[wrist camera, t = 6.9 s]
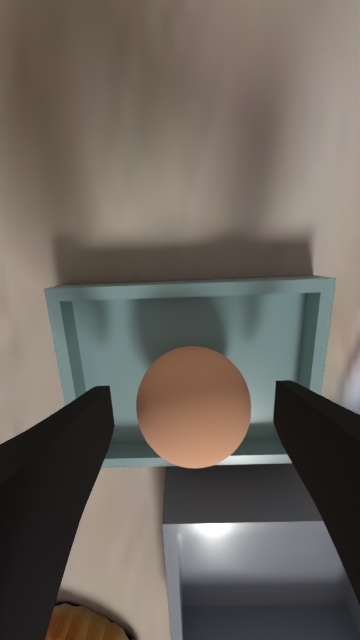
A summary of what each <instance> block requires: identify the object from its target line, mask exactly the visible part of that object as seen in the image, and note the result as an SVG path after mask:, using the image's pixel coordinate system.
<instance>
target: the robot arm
mask: <svg viewBox="0 0 360 640" xmlns="http://www.w3.org/2000/svg"><path fill="white" fill-rule="evenodd" d="M273 423H274V426H275V428H276V431H277V434H278V436H279V438H280V441H281V443H282V445H283V447H284V449H285V451H286V453H287V455H288V456H289V458H290V460H291V462H292V464H293V465H294V467H295V469H296V471H297V473H298V474H299V476H300V478H301V480H302V482H303V483H304V485H305V487H306V489H307V491H308V492H309V494H310V496H311V498H312V499H313V501H314V503H315V505H316V507H317V509H318V511H319V513H320V515H321V517H322V519H323V522H324V524H325V526H326V528H327V531H328V533H329V535H330V537H331V539H332V542H333V544H334V546H335V548H336V551H337V553H338V555H339V558H340V560H341V562H342V565H343V567H344V569H345V572H346V574H347V576H348V579H349V581H350V583H351V586H352V588H353V590H354V593H355V595H356V598H357V600H358V603H359V605H360V415H358V414H356V413H354V412H352V411H350V410H348V409H346V408H344V407H342V406H340V405H338V404H336V403H334V402H332V401H330V400H328V399H326V398H325V397H323V396H321V395H319V394H317V393H315V392H313V391H311V390H310V389H308V388H306V387H304V386H302V385H300V384H298V383H296V382H293V381H291V380H281V381H276V387H275V401H274V414H273ZM114 427H115V424H114V416H113V408H112V400H111V392H110V386H95V387H93V388H91V389H90V390H88V391H87V392H85V393H84V394H82V395H81V396H79V397H78V398H76V399H75V400H73V401H72V402H70V403H69V404H67V405H66V406H65V407H63V408H62V409H60V410H59V411H57V412H56V413H54V414H52V415H51V416H49V417H48V418H46V419H44V420H43V421H41V422H40V423H38V424H36V425H35V426H33V427H31V428H30V429H28V430H26V431H25V432H23V433H21V434H19V435H17V436H15V437H14V438H12V439H10V440H8V441H6V442H4V443H2V444H0V640H45V638H46V634H47V631H48V627H49V624H50V620H51V616H52V613H53V609H54V605H55V602H56V598H57V595H58V591H59V588H60V584H61V581H62V578H63V574H64V571H65V567H66V564H67V561H68V557H69V554H70V551H71V547H72V544H73V541H74V538H75V535H76V531H77V528H78V525H79V522H80V519H81V516H82V514H83V511H84V508H85V505H86V503H87V501H88V498H89V496H90V493H91V491H92V488H93V486H94V484H95V481H96V479H97V476H98V474H99V471H100V469H101V467H102V464H103V462H104V459H105V457H106V454H107V452H108V449H109V446H110V442H111V439H112V435H113V431H114Z"/></svg>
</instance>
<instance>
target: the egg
mask: <svg viewBox="0 0 360 640" xmlns="http://www.w3.org/2000/svg"><path fill="white" fill-rule="evenodd" d="M136 413H137V419H138V423H139V427H140V429H141V432H142V434H143V436H144V438H145V440H146V441H147V443H148V444H149V445H150V447H151V448H152V449H153V450H154V451H155V452H156V453H157V454H158V455H159V456H161V457H162V458H163V459H165V460H167V461H168V462H170V463H172V464H175V465H177V466H180V467H185V468H205V467H209V466H212V465H215V464H217V463H219V462H221V461H223V460H225V459H226V458H227V457H229V456H230V455H231V454H232V453H233V452H234V451H235V450H236V449H237V448H238V447H239V445H240V444H241V442H242V441H243V439H244V437H245V435H246V433H247V430H248V427H249V424H250V419H251V398H250V393H249V389H248V387H247V384H246V382H245V379H244V377H243V376H242V374H241V372H240V371H239V370H238V368H237V367H236V366H235V365H234V364H233V363H232V362H231V361H230V360H229V359H228V358H226V357H225V356H224V355H222V354H220V353H218V352H217V351H214V350H212V349H209V348H205V347H199V346H186V347H180V348H176V349H174V350H171V351H169V352H167V353H165V354H164V355H162V356H161V357H159V358H158V359H157V360H156V361H155V362H154V363H153V364H152V365H151V366H150V367H149V369H148V370H147V371H146V373H145V375H144V376H143V378H142V380H141V383H140V385H139V389H138V393H137V399H136Z"/></svg>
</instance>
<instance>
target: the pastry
mask: <svg viewBox="0 0 360 640" xmlns="http://www.w3.org/2000/svg"><path fill="white" fill-rule="evenodd" d="M45 640H129V639H128V637H127V636H126V634H125V630H124V629H122V628H121V627H120V626H118V625H117V624H116V623H115V622H113V623H112V622H110V621H109V620H108V619H107V618H106V617H104V616H102V615H100V614H98V613H96V612H94V611H92V610H90V609H88V608H86V607H83V606H79V607H75V606H71V605H69V604H67V603H63V604H61V605H58V606H55V607H54V609H53V613H52V616H51V620H50V624H49V627H48V631H47V634H46V638H45ZM132 640H133V638H132Z"/></svg>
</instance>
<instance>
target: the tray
mask: <svg viewBox="0 0 360 640" xmlns="http://www.w3.org/2000/svg"><path fill="white" fill-rule="evenodd" d="M335 283H336V278H330V277H322V276H314V275H313V276H285V277H258V278H230V279H202V280H175V281H147V282H120V283H92V284H65V285H59V286H55V287H50V288H45V289H44V291H45V297H46V302H47V308H48V313H49V319H50V324H51V330H52V335H53V341H54V346H55V352H56V357H57V363H58V368H59V374H60V379H61V384H62V390H63V395H64V401H65V406H66V405H67V404H69V403H70V402H72V401H73V400H75V399H76V398H78V397H79V396H81V395H82V394H84V393H85V392H87V391H88V390H90V389H91V388H93V387H95V386H110V392H111V400H112V408H113V416H114V424H115V427H114V431H113V435H112V439H111V442H110V446H109V449H108V452H107V454H106V457H105V459H104V462H103V464H102V467H101V468H118V467H159V466H177V465H175V464H172V463H170V462H168V461H167V460H165V459H163V458H162V457H161V456H159V455H158V454H157V453H156V452H155V451H154V450H153V449H152V448H151V447H150V445H149V444H148V443H147V441H146V440H145V438H144V436H143V434H142V432H141V429H140V427H139V423H138V419H137V413H136V399H137V393H138V389H139V385H140V383H141V380H142V378H143V376H144V375H145V373H146V371H147V370H148V369H149V367H150V366H151V365H152V364H153V363H154V362H155V361H156V360H157V359H158V358H159V357H161V356H162V355H164V354H165V353H167V352H169V351H171V350H174V349H176V348H180V347H186V346H199V347H205V348H209V349H212V350H214V351H217V352H218V353H220V354H222V355H224V356H225V357H226V358H228V359H229V360H230V361H231V362H232V363H233V364H234V365H235V366H236V367H237V368H238V370H239V371H240V372H241V374H242V376H243V377H244V379H245V382H246V384H247V387H248V389H249V393H250V398H251V419H250V424H249V427H248V430H247V433H246V435H245V437H244V439H243V441H242V442H241V444H240V445H239V447H238V448H237V449H236V450H235V451H234V452H233V453H232V454H231V455H230V456H229V457H227V458H226V459H225V460H223V461H221V462H219V463H217V464H215V465H242V464H283V463H292V462H291V460H290V458H289V456H288V455H287V453H286V451H285V449H284V447H283V445H282V443H281V441H280V438H279V436H278V434H277V431H276V428H275V426H274V423H273V414H274V401H275V387H276V381H281V380H291V381H293V382H296V383H298V384H300V385H302V386H304V387H306V388H308V389H310V390H311V391H313V392H315V393H317V394H319V395H321V391H322V383H323V375H324V368H325V360H326V352H327V344H328V337H329V329H330V321H331V314H332V306H333V298H334V291H335Z"/></svg>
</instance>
